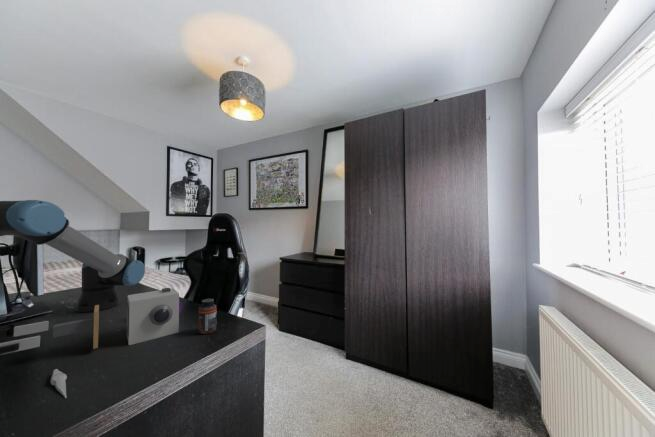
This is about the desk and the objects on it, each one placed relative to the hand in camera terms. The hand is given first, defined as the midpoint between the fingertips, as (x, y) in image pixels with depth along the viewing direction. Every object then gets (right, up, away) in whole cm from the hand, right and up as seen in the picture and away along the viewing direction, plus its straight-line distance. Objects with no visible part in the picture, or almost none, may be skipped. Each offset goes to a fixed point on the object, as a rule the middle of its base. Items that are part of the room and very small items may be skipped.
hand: (44, 332), depth 70 cm
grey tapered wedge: (+17, -8, -11) cm, 21 cm away
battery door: (+5, -7, +4) cm, 9 cm away
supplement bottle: (+37, -9, +19) cm, 43 cm away
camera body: (+20, -8, +16) cm, 27 cm away
